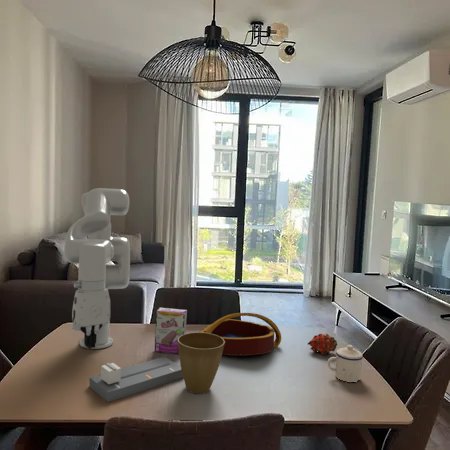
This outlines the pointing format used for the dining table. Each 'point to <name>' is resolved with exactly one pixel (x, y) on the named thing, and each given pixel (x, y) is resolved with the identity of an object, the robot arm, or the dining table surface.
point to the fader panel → (137, 379)
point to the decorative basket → (245, 335)
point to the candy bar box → (169, 329)
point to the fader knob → (110, 373)
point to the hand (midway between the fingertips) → (90, 346)
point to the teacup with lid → (347, 364)
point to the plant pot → (199, 359)
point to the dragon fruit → (323, 343)
